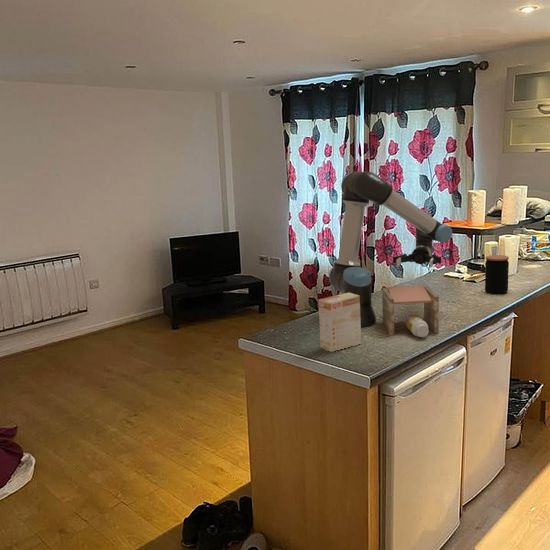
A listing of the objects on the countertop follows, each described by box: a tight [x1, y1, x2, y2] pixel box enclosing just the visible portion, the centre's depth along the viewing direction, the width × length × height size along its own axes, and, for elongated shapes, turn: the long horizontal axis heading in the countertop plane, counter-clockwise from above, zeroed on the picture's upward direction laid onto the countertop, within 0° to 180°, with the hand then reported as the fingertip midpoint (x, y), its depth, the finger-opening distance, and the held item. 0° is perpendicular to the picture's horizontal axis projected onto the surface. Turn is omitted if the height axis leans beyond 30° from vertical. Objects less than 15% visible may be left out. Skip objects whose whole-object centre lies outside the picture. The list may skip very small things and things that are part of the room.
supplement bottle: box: [405, 314, 430, 338], centre depth 219 cm, size 7×7×13 cm
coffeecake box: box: [318, 293, 362, 351], centre depth 209 cm, size 15×7×20 cm, turn 123°
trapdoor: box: [386, 285, 432, 305], centre depth 227 cm, size 15×16×1 cm
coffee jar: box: [484, 254, 510, 295], centre depth 274 cm, size 11×11×18 cm
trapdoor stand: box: [381, 285, 440, 336], centre depth 228 cm, size 19×20×15 cm
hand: (413, 263), depth 229 cm, fingers open, 13 cm apart
